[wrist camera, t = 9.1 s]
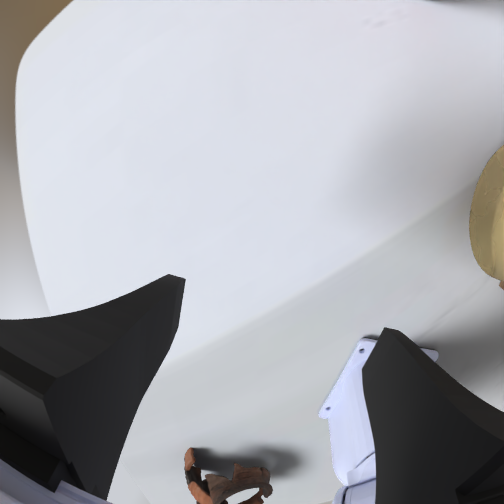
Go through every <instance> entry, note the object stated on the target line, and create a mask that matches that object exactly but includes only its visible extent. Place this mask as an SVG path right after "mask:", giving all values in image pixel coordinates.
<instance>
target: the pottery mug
mask: <svg viewBox="0 0 504 504" xmlns="http://www.w3.org/2000/svg"><path fill="white" fill-rule="evenodd" d="M193 454H194V450H193V448H189V449H188V450H187V452H186V454H185V458H184V460H185V468H184V470H185V475H186V480H187V484H188V488H189V490H190V491H191V494H192V495H193V496H194V498H195V499H196V500H197V504H228V502H227V500H225V499H226V498H228V497H230V496H231V495H233V494H235V493H237V492H240V491H243V490H246V489H251V488H259V492H257V493H256V494H255V495H254V496H252V497H251V498H250V499H248V500H246V501H243V502H241V503H239V504H263V503H264V501H263V500H262V499H261V496H262V495H264V497H265V498H268V497H269V496H270V495H271V494H272V492H273V489H272V486H271V485H270V484H269V481H270V473H269V471H268V470H266V469H265V468H259V467H250V468H245V467H242V466H241V465H239V464H237V463H234V466H235V468H234V473H233V478H232V480H229V479H228V478H226V477H224V476H218V475H215V474H207V475H205V478H206V479H205V480H203V481H202V479H201V469H200V468H197V467H195V466H192V465H193V464H194V462H195V461H196V459H195V457H194V456H193Z"/></svg>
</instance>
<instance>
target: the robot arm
mask: <svg viewBox="0 0 504 504" xmlns="http://www.w3.org/2000/svg"><path fill="white" fill-rule="evenodd" d="M185 280H186V279H184V278H181V277H177V276H174V275H170V274H168V275H165V276H163V277H161V278H159V279H157V280H155V281H153V282H151V283H149V284H147V285H145V286H143V287H141V288H139V289H137V290H135V291H133V292H131V293H128V294H126V295H123V296H121V297H119V298H116V299H114V300H111V301H109V302H106V303H104V304H101V305H98V306H95V307H91V308H88V309H84V310H81V311H77V312H72V313H67V314H61V315H56V316H51V317H43V318H34V319H19V320H1V319H0V504H112V503H110V502H107V501H106V500H107V497H108V493H109V489H110V486H111V483H112V479H113V476H114V473H115V469H116V467H117V463H118V460H119V457H120V454H121V451H122V449H123V446H124V443H125V440H126V438H127V435H128V432H129V429H130V427H131V424H132V422H133V419H134V417H135V414H136V412H137V409H138V407H139V404H140V402H141V400H142V398H143V396H144V394H145V392H146V391H147V389H148V387H149V385H150V383H151V382H152V380H153V378H154V376H155V375H156V373H157V371H158V369H159V367H160V366H161V364H162V362H163V360H164V358H165V357H166V355H167V353H168V351H169V349H170V347H171V344H172V342H173V339H174V337H175V334H176V332H177V329H178V326H179V319H180V312H181V305H182V299H183V293H184V286H185ZM362 348H364V349H363V350H360V349H362ZM438 357H439V354H438V352H437V351H435V350H429V349H423V348H419V347H418V346H417V345H416V344H415V343H414V342H413V341H411V340H410V339H409V338H408V337H407V336H406V335H404V334H403V333H402V332H400V331H399V330H395V329H390V328H385V327H384V329H383V331H382V333H381V335H380V337H379V339H378V340H373V339H368V338H364V339H361V340H360V341H359V342H358V344H357V346H356V348H355V350H354V352H353V354H352V355H351V357H350V359H349V361H348V363H347V365H346V366H345V368H344V370H343V372H342V374H341V375H340V377H339V379H338V381H337V383H336V384H335V386H334V388H333V389H332V391H331V393H330V394H329V396H328V398H327V400H326V401H325V403H324V404H323V406H322V408H321V409H320V411H319V417H320V418H325V419H328V422H329V431H330V441H331V451H332V462H333V468H334V472H335V474H336V476H337V477H338V479H339V480H340V481H341V482H342V483H343V484H344V485H345V486H344V487H342V488H340V489H339V490H338V491H337V493H336V495H335V498H334V500H333V502H332V504H504V412H502V411H500V410H498V409H497V408H495V407H493V406H491V405H490V404H488V403H486V402H485V401H483V400H482V399H480V398H479V397H477V396H476V395H474V394H473V393H471V392H470V391H469V390H467V389H466V388H465V387H463V386H462V385H461V384H459V383H458V382H457V381H456V380H455V379H453V378H452V377H451V376H450V375H449V374H448V373H446V372H445V371H444V370H443V369H442V368H441V367H440V366H439V365H437V364H436V363H435V362H436V361H437V359H438Z"/></svg>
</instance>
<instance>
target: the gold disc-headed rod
mask: <svg viewBox="0 0 504 504" xmlns="http://www.w3.org/2000/svg"><path fill="white" fill-rule="evenodd" d="M469 231H470V241H471V247H472V251H473V254H474V256H475V259H476V261H477V263H478V264H479V266H480V267H481V269H482V270H483V271H484V272H485V273H487V274H488V275H489V276H491V277H493V278H496V279H498V280H501V281H504V145H503V146H502V147H501V148H500V149H498V150H497V151H496V153H495V154H494V155H493V156H492V157H491V159H490V160H489V161H488V163H487V165H486V166H485V168H484V170H483V172H482V174H481V176H480V178H479V181H478V183H477V186H476V189H475V192H474V196H473V200H472V204H471V211H470V221H469Z"/></svg>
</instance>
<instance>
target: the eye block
mask: <svg viewBox="0 0 504 504" xmlns="http://www.w3.org/2000/svg"><path fill="white" fill-rule="evenodd" d="M499 286H500V287H501V288H502V289H503V290H504V281H501V282H500V285H499Z"/></svg>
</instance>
